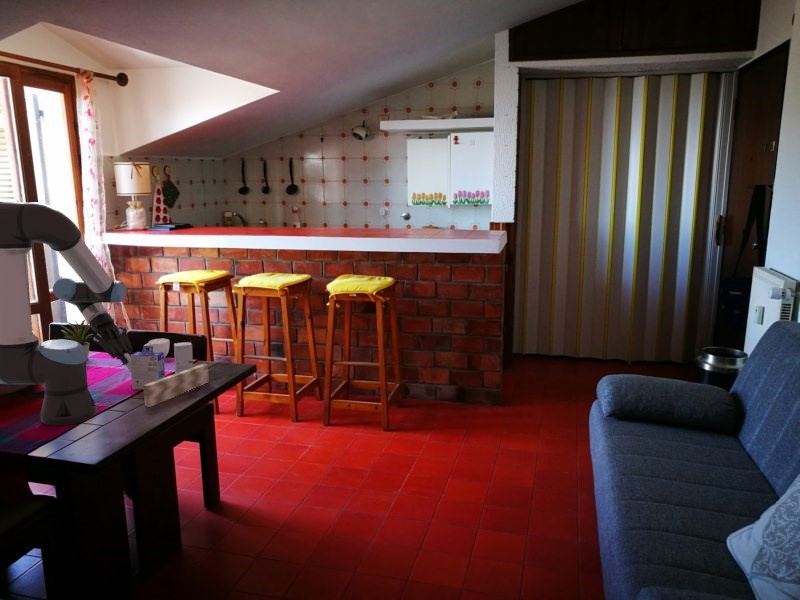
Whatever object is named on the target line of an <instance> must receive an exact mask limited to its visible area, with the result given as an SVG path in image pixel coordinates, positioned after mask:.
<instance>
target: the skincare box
mask: <svg viewBox="0 0 800 600" xmlns="http://www.w3.org/2000/svg"><path fill="white" fill-rule="evenodd" d="M173 348H174V349H173V350H174V353H173V354H174V369H175V370H174V371H175V372H174V374H176V373H179V372H182V371H184V370H187V369H190V368H193V367H194V363H193V360H194V358H193V344H192V341H190V342H189V341H187V342H177V343H174V344H173Z"/></svg>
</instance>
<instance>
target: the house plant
mask: <svg viewBox="0 0 800 600" xmlns="http://www.w3.org/2000/svg"><path fill="white" fill-rule="evenodd" d="M85 321H86V319H85V318H84V319H83V320H82V321H81V323H80V326H79V324H78V321H75V322H76V323H75V324H76V325H74V324H73V323H71V322H70V321H68V322H66V323H67V324H69V326H71V327H72V329H73V331H72V330H70V329H69V328H67V327H65V326H63V325H61V327H63V329H60V331H61V332H62V334H64V336H63V337H62V338H61V339H63V338H65V339H68V340H69V339H70V340H72V341H76V342H78V343H80V344H81V345H82V346H83V348H84V353H85V356H86V359H87V360H89V353H90V352H89V351H90V342H87V340H88V339H93V336H92V335H94V336H95V334H93V333H89V334H88V335H87V336H86V334H87V332H88V331H89V330H90V328H91V327H90V325H89V323H88V322H87V323H86V324H85ZM66 330H67V331H66Z"/></svg>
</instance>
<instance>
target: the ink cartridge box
mask: <svg viewBox="0 0 800 600" xmlns="http://www.w3.org/2000/svg"><path fill="white" fill-rule="evenodd" d="M149 348H150V349H151V350H150V349H149ZM144 349H145V350H144ZM148 349H149V350H148ZM130 360H131V372H130V373H131V384H132V388H131V389H132V390H144V389H143V385H145V384H148V383H151V382H154V381H156V380H159V379H162V378H165V377H166V371H165V370H166V369H165V368H166V367H165V358H164V353H163V352H153V346H144V345H143V347H142V351H136V352H134V353H133V354H131V356H130Z"/></svg>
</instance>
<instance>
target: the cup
mask: <svg viewBox="0 0 800 600" xmlns="http://www.w3.org/2000/svg"><path fill="white" fill-rule="evenodd" d="M143 346H153V352H163V353H164V359H165V358H166V357H167V355H168V353H169V350H170V339H168V338H155V339H154V338H153V339H151V340H149V341H148V343H146V344H144V345H143ZM148 349H149V350H151V349H150V348H148ZM144 350H146V348H145V349H144Z"/></svg>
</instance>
